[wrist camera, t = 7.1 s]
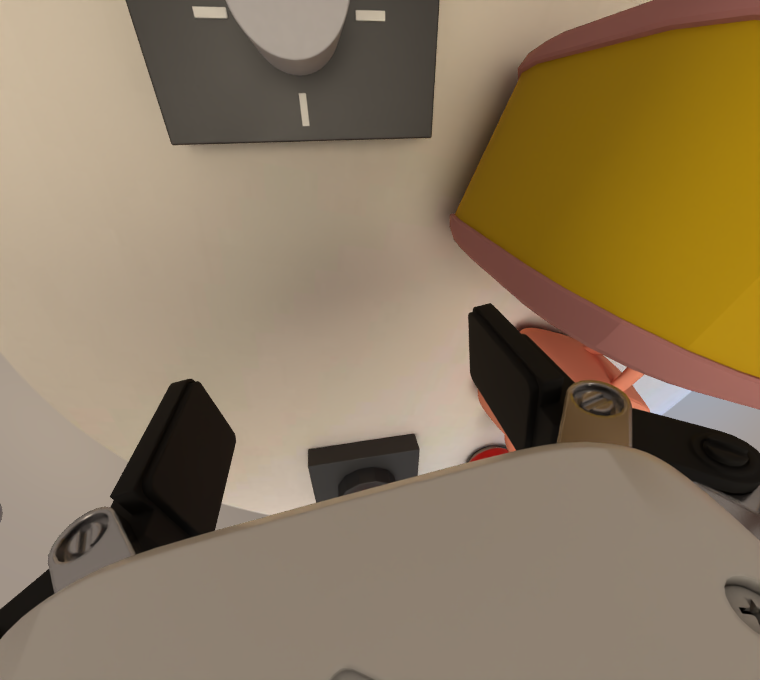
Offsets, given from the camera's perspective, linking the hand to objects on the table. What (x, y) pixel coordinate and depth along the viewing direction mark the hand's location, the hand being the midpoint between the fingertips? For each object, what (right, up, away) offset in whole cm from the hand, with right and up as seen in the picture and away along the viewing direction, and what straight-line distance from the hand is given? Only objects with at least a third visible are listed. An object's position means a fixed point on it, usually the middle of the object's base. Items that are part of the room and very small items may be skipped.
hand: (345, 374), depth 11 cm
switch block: (-1, -14, +28) cm, 32 cm away
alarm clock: (+15, +12, +14) cm, 24 cm away
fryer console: (-3, +18, +6) cm, 19 cm away
